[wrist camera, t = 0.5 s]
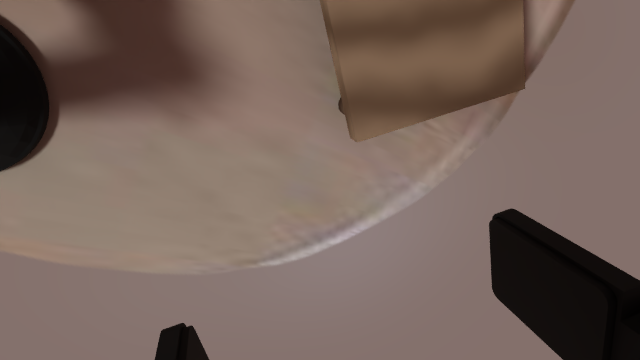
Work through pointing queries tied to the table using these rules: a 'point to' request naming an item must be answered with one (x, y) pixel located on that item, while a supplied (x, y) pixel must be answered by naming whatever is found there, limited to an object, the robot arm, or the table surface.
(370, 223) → the table surface
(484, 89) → the walnut stool
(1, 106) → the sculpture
